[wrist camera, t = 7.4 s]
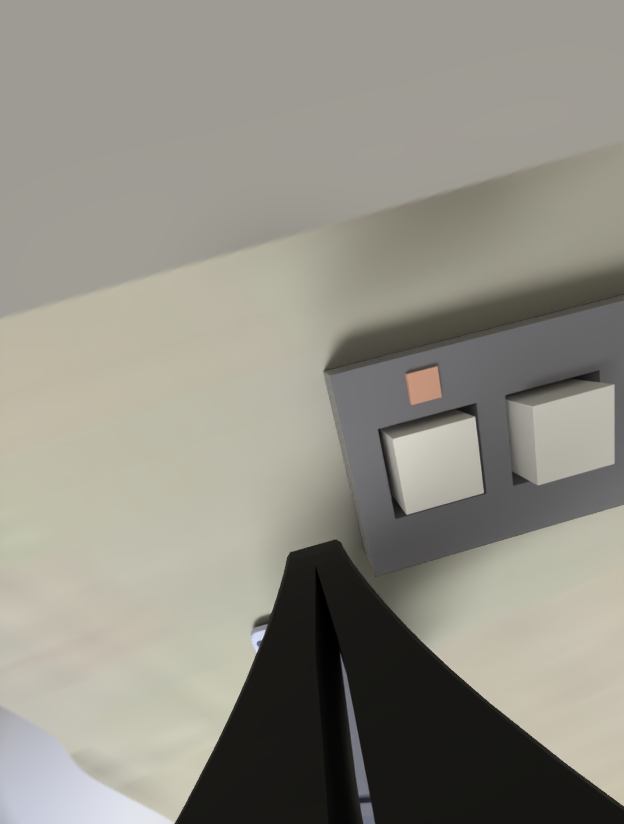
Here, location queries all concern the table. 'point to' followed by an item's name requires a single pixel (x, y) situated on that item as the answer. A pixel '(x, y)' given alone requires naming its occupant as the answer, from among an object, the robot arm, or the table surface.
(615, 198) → the table surface
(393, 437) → the key inner
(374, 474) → the keypad frame
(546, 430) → the key middle
